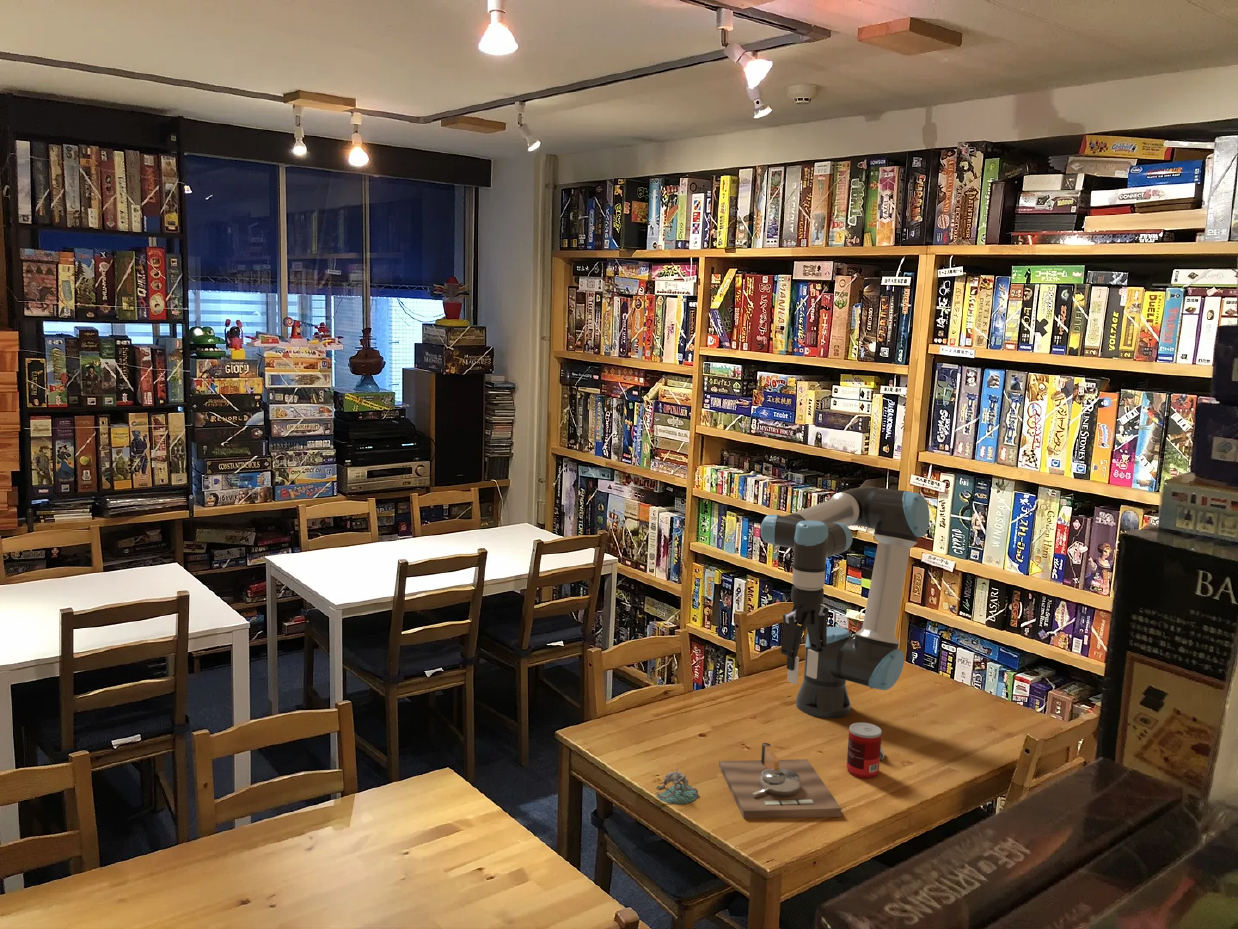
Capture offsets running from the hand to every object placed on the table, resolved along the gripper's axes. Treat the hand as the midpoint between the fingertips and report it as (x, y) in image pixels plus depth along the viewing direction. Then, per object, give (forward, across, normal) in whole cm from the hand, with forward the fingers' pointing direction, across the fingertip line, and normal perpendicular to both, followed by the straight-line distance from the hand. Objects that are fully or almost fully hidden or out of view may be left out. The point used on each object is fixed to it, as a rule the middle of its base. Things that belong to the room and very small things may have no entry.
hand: (801, 679), depth 229 cm
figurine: (+23, +34, -6) cm, 42 cm away
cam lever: (+21, +13, +7) cm, 26 cm away
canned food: (+23, -13, +10) cm, 28 cm away
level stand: (+23, +12, +6) cm, 27 cm away
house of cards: (+24, -19, +5) cm, 31 cm away
